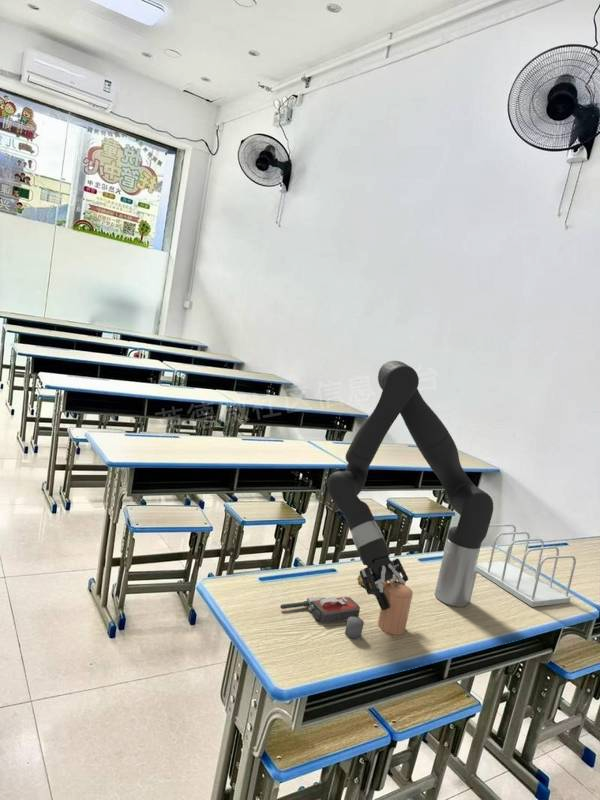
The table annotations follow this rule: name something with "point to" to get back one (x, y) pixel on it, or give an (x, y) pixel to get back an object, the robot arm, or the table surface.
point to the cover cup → (395, 608)
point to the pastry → (369, 583)
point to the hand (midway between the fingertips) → (396, 605)
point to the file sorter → (525, 574)
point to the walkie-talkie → (329, 608)
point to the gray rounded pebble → (354, 628)
